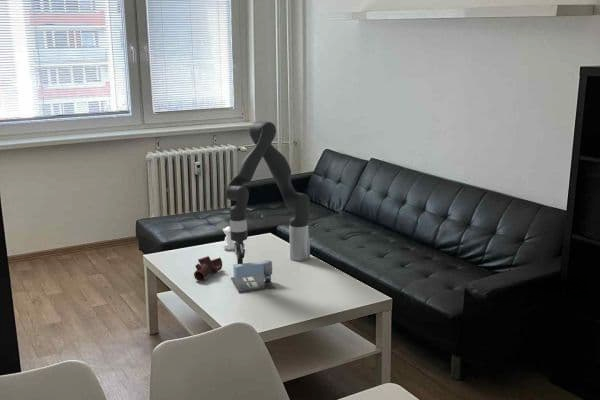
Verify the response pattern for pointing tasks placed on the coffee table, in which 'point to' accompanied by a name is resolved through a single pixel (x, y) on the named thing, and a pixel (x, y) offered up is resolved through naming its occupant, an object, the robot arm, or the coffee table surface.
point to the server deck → (253, 283)
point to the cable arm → (252, 269)
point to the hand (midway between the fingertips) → (240, 265)
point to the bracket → (207, 267)
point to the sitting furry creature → (228, 240)
